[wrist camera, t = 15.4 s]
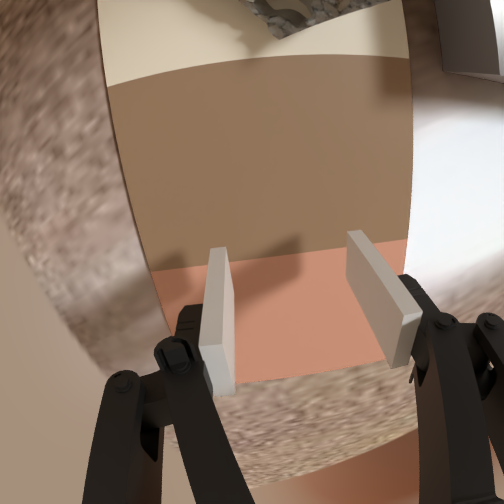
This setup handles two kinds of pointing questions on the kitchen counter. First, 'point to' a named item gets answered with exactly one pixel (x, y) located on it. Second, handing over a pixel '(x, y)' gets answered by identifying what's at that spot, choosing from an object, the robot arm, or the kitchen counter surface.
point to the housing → (472, 37)
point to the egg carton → (290, 21)
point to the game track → (264, 165)
